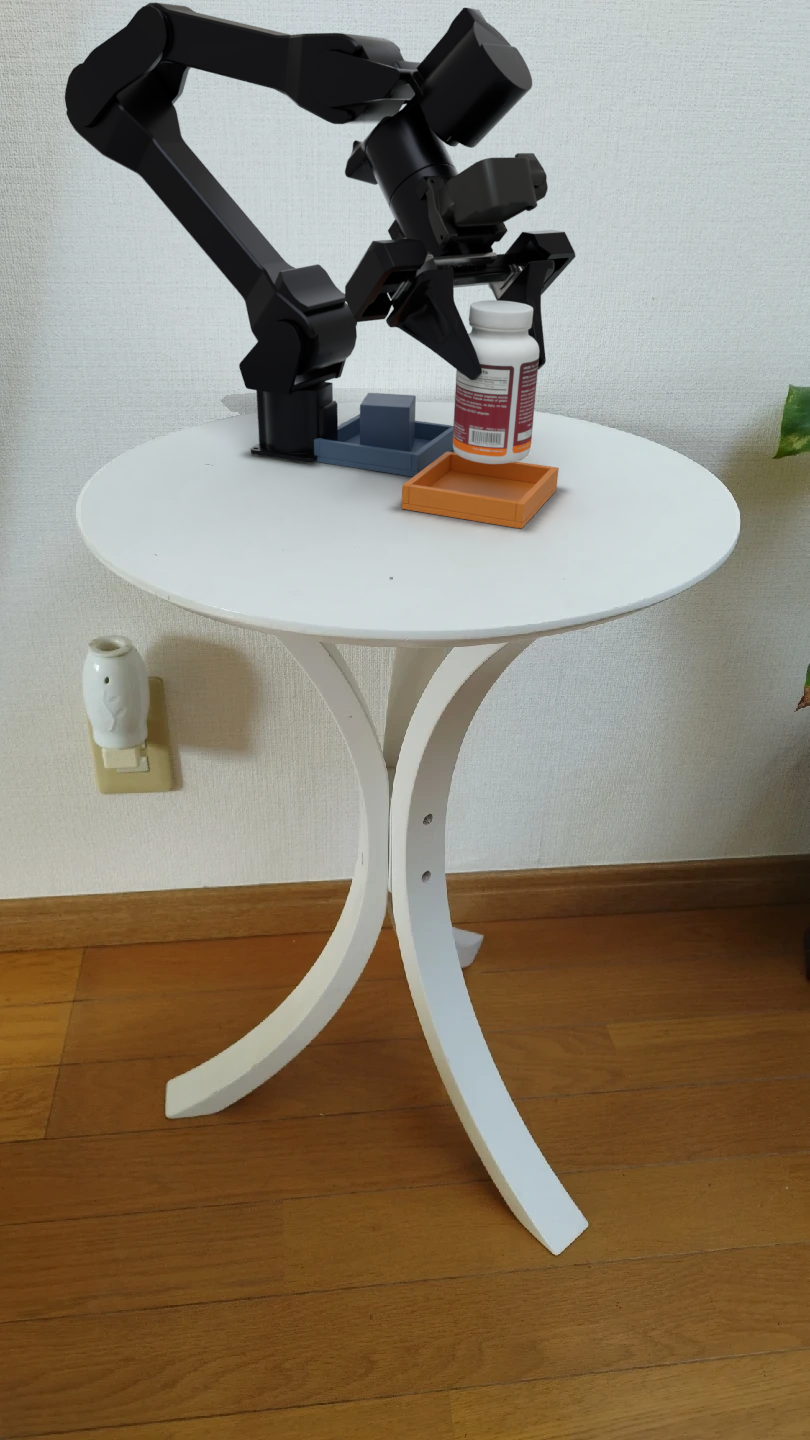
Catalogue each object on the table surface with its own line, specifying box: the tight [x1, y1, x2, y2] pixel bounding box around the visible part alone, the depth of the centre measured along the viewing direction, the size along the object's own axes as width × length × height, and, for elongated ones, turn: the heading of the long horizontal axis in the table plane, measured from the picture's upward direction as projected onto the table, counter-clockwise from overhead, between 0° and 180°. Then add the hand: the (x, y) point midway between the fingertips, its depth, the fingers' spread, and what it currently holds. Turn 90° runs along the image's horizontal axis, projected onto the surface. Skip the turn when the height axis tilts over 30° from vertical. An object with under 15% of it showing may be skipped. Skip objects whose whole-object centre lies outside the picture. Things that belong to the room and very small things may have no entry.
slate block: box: [359, 392, 417, 452], centre depth 94 cm, size 4×4×4 cm
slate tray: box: [314, 413, 454, 478], centre depth 94 cm, size 10×10×2 cm
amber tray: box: [401, 451, 559, 529], centre depth 84 cm, size 10×10×2 cm
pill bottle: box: [453, 299, 539, 464], centre depth 77 cm, size 6×6×11 cm
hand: (509, 371), depth 76 cm, fingers closed on pill bottle, 6 cm apart
